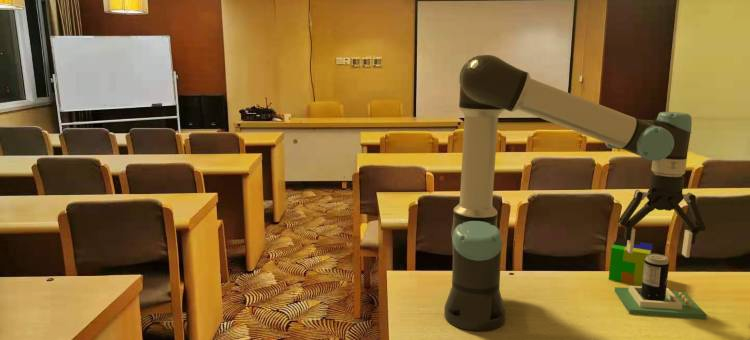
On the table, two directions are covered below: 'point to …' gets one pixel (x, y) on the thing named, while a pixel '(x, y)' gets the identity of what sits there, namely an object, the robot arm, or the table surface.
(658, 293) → the beverage can
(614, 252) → the puzzle toy
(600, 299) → the table surface
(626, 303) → the header board
